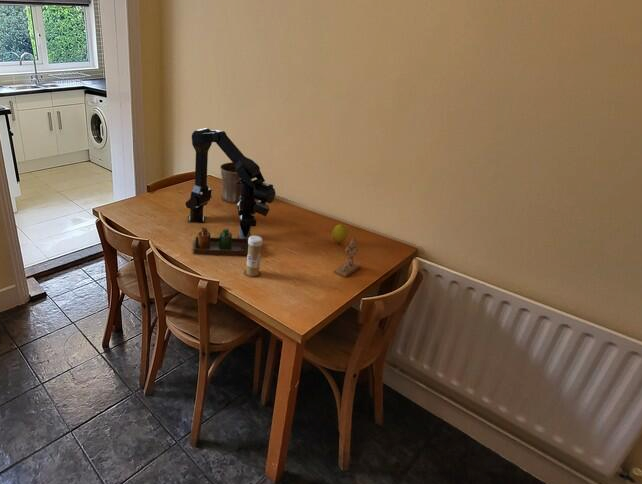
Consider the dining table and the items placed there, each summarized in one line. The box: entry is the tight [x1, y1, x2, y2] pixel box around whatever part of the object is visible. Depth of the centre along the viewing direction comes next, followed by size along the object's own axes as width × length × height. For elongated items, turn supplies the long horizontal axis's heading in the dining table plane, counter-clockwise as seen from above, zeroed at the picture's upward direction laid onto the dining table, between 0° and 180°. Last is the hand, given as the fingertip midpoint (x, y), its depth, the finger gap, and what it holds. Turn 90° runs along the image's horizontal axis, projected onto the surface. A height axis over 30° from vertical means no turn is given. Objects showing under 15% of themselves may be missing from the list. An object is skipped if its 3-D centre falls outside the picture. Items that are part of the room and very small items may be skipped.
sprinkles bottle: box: [245, 235, 263, 277], centre depth 137 cm, size 5×5×14 cm
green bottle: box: [218, 228, 233, 250], centre depth 154 cm, size 5×5×8 cm
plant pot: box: [219, 161, 241, 204], centre depth 199 cm, size 16×16×16 cm
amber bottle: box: [197, 227, 211, 249], centre depth 155 cm, size 5×5×8 cm
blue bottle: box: [238, 226, 252, 239], centre depth 162 cm, size 4×4×8 cm
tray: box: [193, 236, 249, 257], centre depth 155 cm, size 10×23×2 cm, turn 85°
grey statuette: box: [335, 238, 360, 278], centre depth 139 cm, size 9×4×12 cm, turn 131°
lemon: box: [331, 223, 349, 244], centre depth 158 cm, size 6×6×8 cm
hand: (244, 232), depth 163 cm, fingers open, 6 cm apart
